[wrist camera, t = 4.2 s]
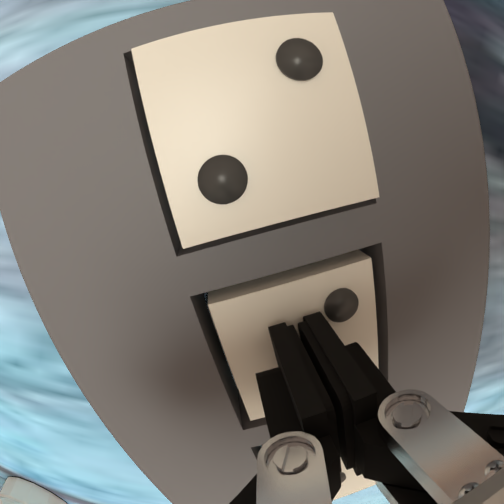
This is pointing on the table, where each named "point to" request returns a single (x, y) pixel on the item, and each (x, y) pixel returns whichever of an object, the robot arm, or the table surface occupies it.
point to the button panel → (243, 244)
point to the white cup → (26, 493)
